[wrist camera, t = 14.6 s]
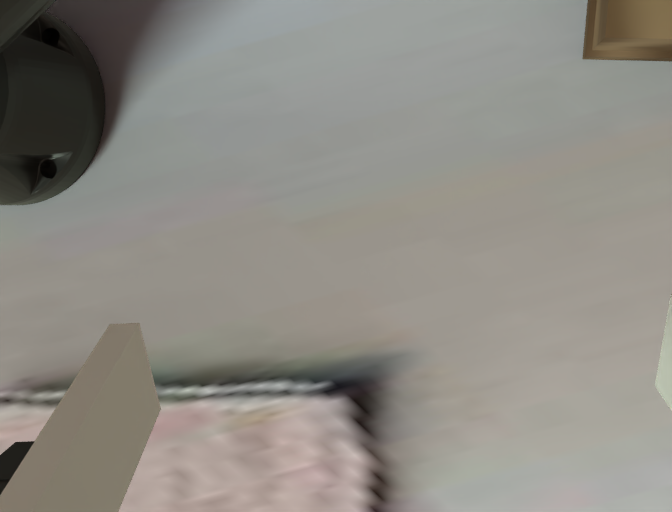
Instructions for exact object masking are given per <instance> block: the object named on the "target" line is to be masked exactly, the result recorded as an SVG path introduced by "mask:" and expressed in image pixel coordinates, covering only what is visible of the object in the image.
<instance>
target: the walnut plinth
mask: <svg viewBox="0 0 672 512" xmlns="http://www.w3.org/2000/svg"><path fill="white" fill-rule="evenodd" d="M583 59H599V60H643V61H672V0H588V5H587V16H586V27H585V38H584V49H583Z"/></svg>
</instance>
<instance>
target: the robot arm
mask: <svg viewBox="0 0 672 512" xmlns="http://www.w3.org/2000/svg"><path fill="white" fill-rule="evenodd" d="M55 1H56V0H0V205H27V204H33V203H38V202H41V201H44V200H47V199H49V198H52V197H54V196H55V195H57V194H59V193H61V192H62V191H64V190H65V189H66V188H68V187H69V186H70V185H71V184H73V183H74V182H75V181H76V180H77V179H78V178H79V176H80V175H81V174H82V173H83V172H84V170H85V169H86V168H87V166H88V165H89V163H90V161H91V160H92V158H93V156H94V154H95V152H96V149H97V147H98V144H99V141H100V138H101V134H102V130H103V124H104V115H105V100H104V91H103V85H102V81H101V77H100V74H99V71H98V68H97V65H96V63H95V61H94V59H93V57H92V55H91V53H90V51H89V50H88V48H87V47H86V45H85V44H84V43H83V41H82V40H81V39H80V38H79V36H78V35H77V34H76V33H75V32H74V31H73V30H72V29H71V28H70V27H68V26H67V25H66V24H65V23H63V22H62V21H60V20H59V19H57V18H56V17H54V16H52V15H50V14H48V13H46V12H44V11H45V10H46V9H48V8H49V7H50V6H51V5H52V4H53V3H54V2H55ZM655 387H656V388H657V390H658V391H659V393H660V394H661V396H662V397H663V399H664V400H665V402H666V403H667V405H668V406H669V408H670V409H671V410H672V294H671V297H670V303H669V308H668V314H667V320H666V325H665V331H664V337H663V343H662V348H661V354H660V360H659V365H658V371H657V377H656V382H655ZM160 410H161V408H160V404H159V400H158V396H157V392H156V388H155V384H154V380H153V376H152V372H151V368H150V364H149V360H148V356H147V352H146V348H145V344H144V340H143V336H142V332H141V328H140V324H139V323H128V324H110V325H109V326H108V328H107V329H106V331H105V333H104V334H103V336H102V337H101V339H100V340H99V342H98V343H97V345H96V347H95V348H94V350H93V351H92V353H91V354H90V356H89V358H88V359H87V361H86V362H85V364H84V365H83V367H82V368H81V370H80V372H79V373H78V375H77V376H76V378H75V379H74V381H73V382H72V384H71V386H70V387H69V389H68V390H67V392H66V393H65V395H64V397H63V398H62V400H61V401H60V403H59V404H58V406H57V407H56V409H55V411H54V412H53V414H52V415H51V417H50V418H49V420H48V422H47V423H46V425H45V426H44V428H43V429H42V431H41V432H40V434H39V436H38V437H37V439H36V440H35V441H31V442H15V443H14V444H13V445H12V446H11V447H9V448H8V449H7V450H6V451H5V452H3V453H2V454H1V455H0V512H118V511H119V509H120V506H121V504H122V501H123V499H124V496H125V494H126V492H127V489H128V487H129V484H130V482H131V480H132V477H133V475H134V472H135V470H136V468H137V465H138V463H139V460H140V458H141V455H142V453H143V451H144V448H145V446H146V443H147V441H148V439H149V436H150V434H151V431H152V429H153V427H154V424H155V422H156V419H157V417H158V414H159V412H160Z"/></svg>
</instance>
